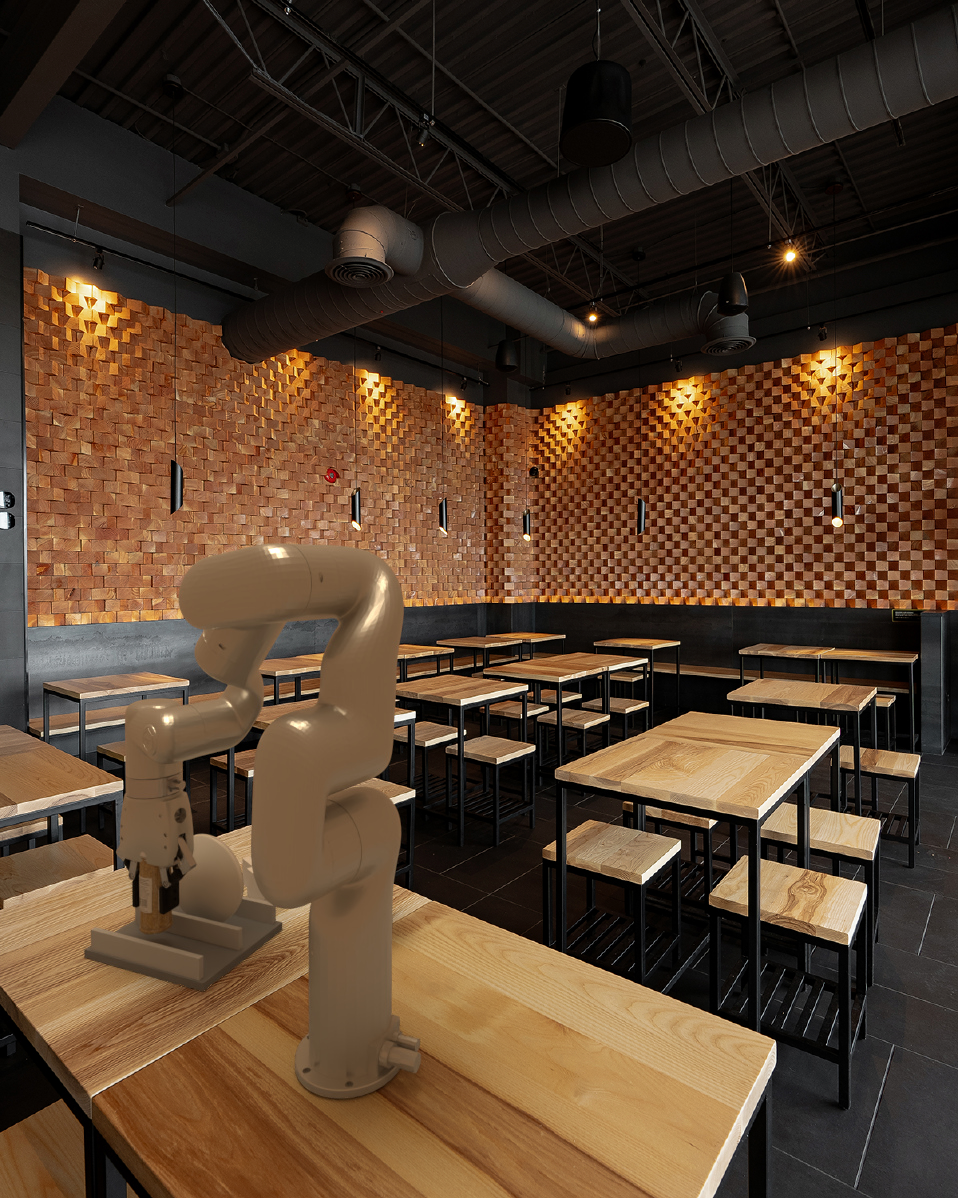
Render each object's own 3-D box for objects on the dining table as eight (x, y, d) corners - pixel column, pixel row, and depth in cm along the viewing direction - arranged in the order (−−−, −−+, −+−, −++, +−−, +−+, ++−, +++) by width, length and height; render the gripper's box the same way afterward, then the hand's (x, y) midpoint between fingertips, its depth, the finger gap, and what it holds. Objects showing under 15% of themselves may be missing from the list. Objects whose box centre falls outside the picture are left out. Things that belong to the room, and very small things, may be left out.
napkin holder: (285, 917, 112) (285, 883, 112) (215, 919, 111) (214, 885, 111) (302, 875, 127) (302, 845, 127) (240, 877, 126) (240, 847, 126)
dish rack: (282, 929, 107) (281, 835, 107) (203, 992, 91) (202, 881, 91) (174, 904, 115) (173, 815, 114) (84, 957, 99) (82, 855, 98)
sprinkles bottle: (175, 930, 99) (174, 840, 99) (141, 939, 97) (140, 847, 96) (170, 916, 103) (169, 829, 103) (136, 925, 101) (135, 836, 100)
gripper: (219, 784, 100) (219, 905, 100) (132, 770, 106) (134, 885, 106) (180, 800, 93) (181, 931, 93) (89, 784, 99) (91, 907, 99)
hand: (156, 905), depth 100 cm, fingers closed on sprinkles bottle, 4 cm apart
